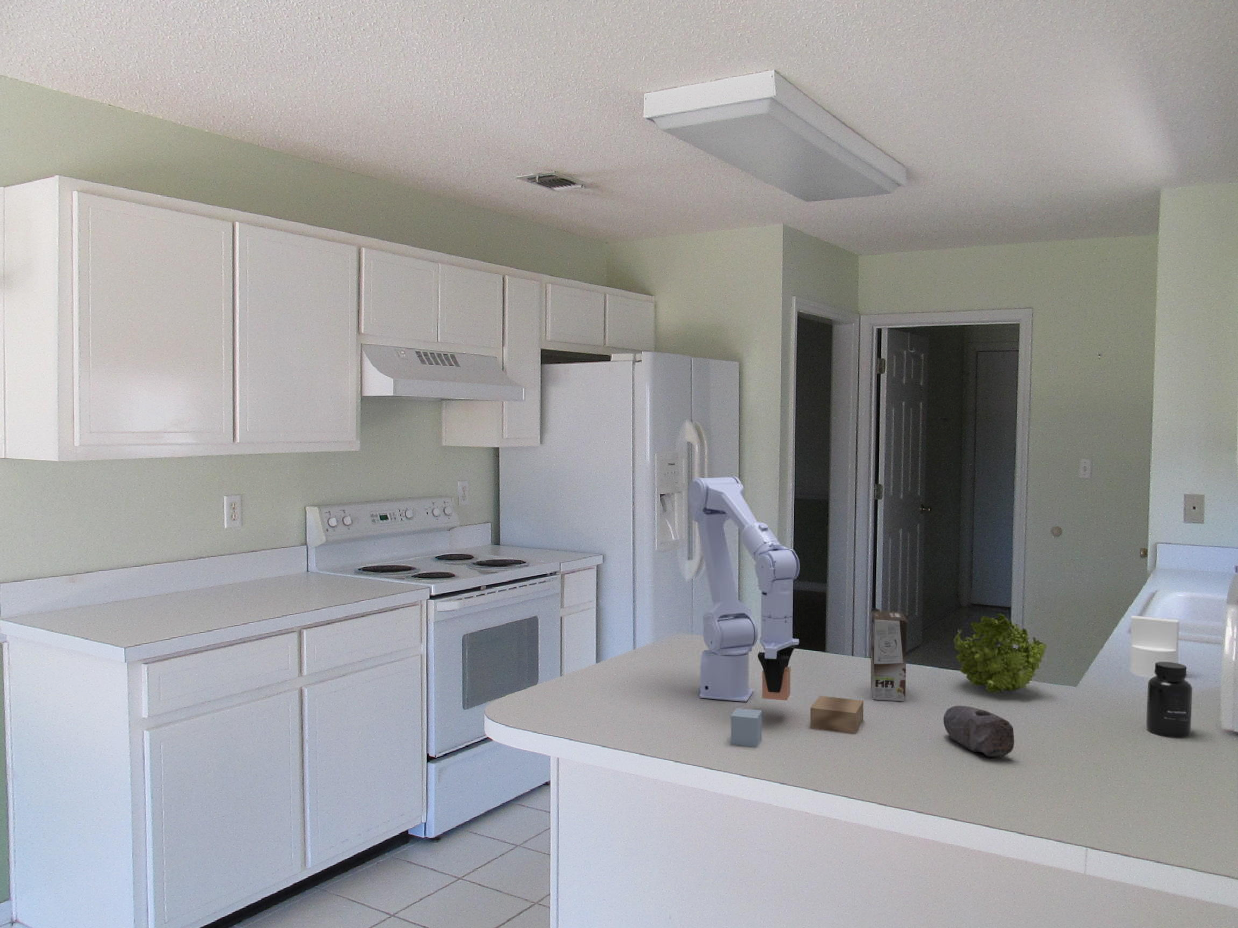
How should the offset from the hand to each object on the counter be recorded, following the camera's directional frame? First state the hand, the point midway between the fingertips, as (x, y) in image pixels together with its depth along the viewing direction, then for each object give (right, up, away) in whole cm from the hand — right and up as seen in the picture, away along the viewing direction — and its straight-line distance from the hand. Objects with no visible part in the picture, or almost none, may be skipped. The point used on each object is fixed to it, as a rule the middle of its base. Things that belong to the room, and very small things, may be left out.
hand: (776, 687), depth 176 cm
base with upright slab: (+86, -4, +30) cm, 92 cm away
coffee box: (+25, -5, +15) cm, 30 cm away
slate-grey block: (-7, -6, -12) cm, 15 cm away
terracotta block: (0, -2, 0) cm, 2 cm away
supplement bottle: (+68, -6, -8) cm, 69 cm away
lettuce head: (+47, -5, +19) cm, 51 cm away
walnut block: (+10, -6, -3) cm, 13 cm away
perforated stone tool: (+30, -7, -16) cm, 35 cm away
